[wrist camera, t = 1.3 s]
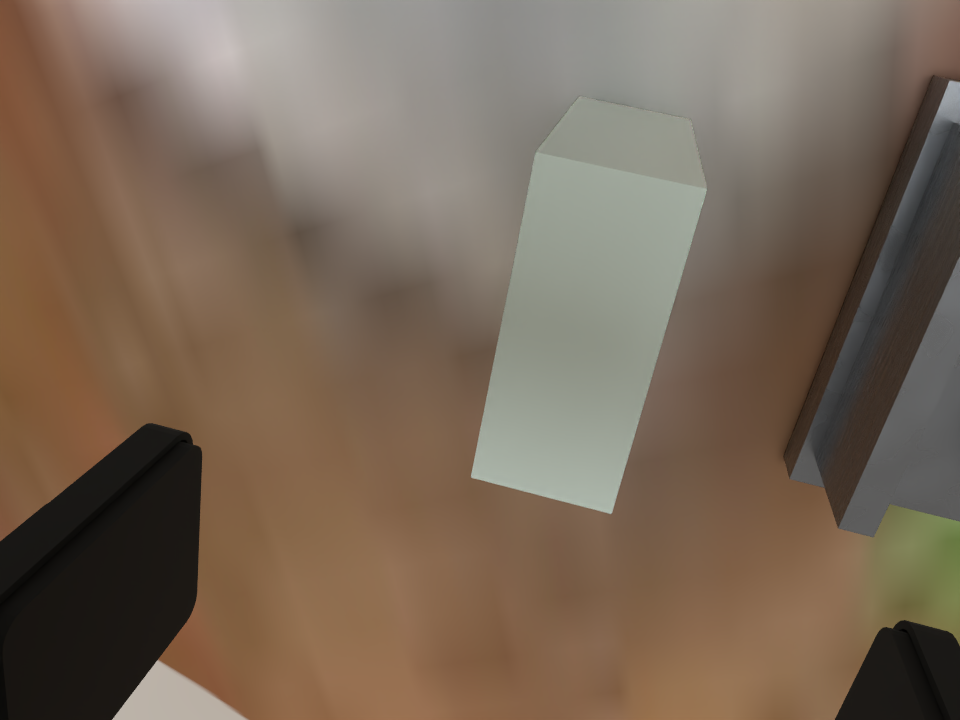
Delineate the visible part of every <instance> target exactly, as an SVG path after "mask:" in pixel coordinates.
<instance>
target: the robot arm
mask: <svg viewBox="0 0 960 720" xmlns="http://www.w3.org/2000/svg"><path fill="white" fill-rule="evenodd" d="M201 473H202V451H201V448H200V447H199V446H196V445H193V441H192V438H191V435H190V434H189V433H187V432H183V431H180V430H176V429H172V428H168V427H164V426H161V425H157V424H153V423H148V424H146V425H144V426H142V427H141V428H140V429H139V430H137V431H136V432H135V433H134V434H133V435H131V436H130V437H129V438H128V439H126V440H125V441H124V442H123V443H122V444H120V445H119V446H118V447H117V448H115V449H114V450H113V451H112V452H111V453H109V454H108V455H107V456H106V457H104V458H103V459H102V460H101V461H100V462H98V463H97V464H96V465H95V466H93V467H92V468H91V469H90V470H88V471H87V472H86V473H85V474H84V475H82V476H81V477H80V478H79V479H77V480H76V481H75V482H74V483H73V484H71V485H70V486H69V487H68V488H66V489H65V490H64V491H63V492H62V493H60V494H59V495H58V496H57V497H55V498H54V499H53V500H52V501H51V502H49V503H48V504H46V505H44V506H43V507H42V508H41V509H40V510H38V511H37V512H36V513H35V514H33V515H32V516H31V517H30V518H29V519H27V520H26V521H25V522H24V523H22V524H21V525H20V526H19V527H17V528H16V529H15V530H14V531H13V532H11V533H10V534H9V535H8V536H6V537H5V538H4V539H3V540H2V541H0V720H112V719H113V718H114V716H115V715H116V714H117V712H118V711H119V710H120V708H121V707H122V706H123V704H124V703H125V702H126V700H127V699H128V698H129V697H130V695H131V694H132V692H133V691H134V690H135V689H136V687H137V686H138V685H139V683H140V682H141V681H142V680H143V678H144V677H145V676H146V674H147V673H148V671H149V670H150V669H151V668H152V666H153V665H154V664H155V662H156V661H157V660H158V659H159V657H160V656H161V655H162V653H163V652H164V651H165V649H166V648H167V647H168V645H169V644H170V643H171V641H172V640H173V639H174V638H175V636H176V635H177V634H178V632H179V631H180V630H181V628H182V627H183V626H184V624H185V623H186V622H187V620H188V619H189V617H190V615H191V613H192V611H193V608H194V605H195V602H196V597H197V580H198V553H199V526H200V500H201ZM835 720H960V646H959V644H958V642H957V640H956V638H955V637H954V636H953V634H951V633H949V632H948V631H944V630H940V629H936V628H932V627H929V626H925V625H921V624H917V623H913V622H909V621H906V620H904V621H900V622H898V623H897V624H896V625H895V626H894V628H893V629H891V628H887V627H885V628H882V629H881V630H880V631H879V632H878V634H877V635H876V637H875V639H874V642H873V644H872V646H871V648H870V650H869V652H868V654H867V656H866V658H865V660H864V662H863V664H862V666H861V668H860V670H859V672H858V674H857V676H856V678H855V680H854V682H853V684H852V686H851V688H850V690H849V692H848V694H847V696H846V698H845V700H844V702H843V704H842V706H841V708H840V710H839V712H838V714H837V716H836V718H835Z"/></svg>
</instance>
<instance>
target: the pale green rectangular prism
mask: <svg viewBox="0 0 960 720" xmlns="http://www.w3.org/2000/svg"><path fill="white" fill-rule="evenodd" d="M706 192H707V185H706V181H705V177H704V173H703V168H702V164H701V160H700V156H699V151H698V147H697V143H696V139H695V135H694V130H693V126H692V122H691V119H688V118H683V117H678V116H673V115H668V114H663V113H659V112H654V111H649V110H644V109H639V108H634V107H629V106H625V105H620V104H615V103H610V102H605V101H600V100H595V99H591V98H586V97H581V96H579V97H578V98H577V99H576V101H575V102H574V103H573V105H572V106H571V107H570V108H569V110H568V111H567V112H566V114H565V115H564V116H563V117H562V119H561V120H560V121H559V123H558V124H557V125H556V126H555V128H554V129H553V130H552V131H551V133H550V134H549V135H548V137H547V138H546V139H545V140H544V142H543V143H542V144H541V146H540V147H539V148H538V149H537V151H536V152H535V157H534V162H533V167H532V172H531V177H530V182H529V187H528V192H527V197H526V202H525V207H524V212H523V217H522V222H521V227H520V232H519V237H518V242H517V247H516V252H515V257H514V262H513V267H512V273H511V278H510V283H509V288H508V293H507V298H506V303H505V308H504V313H503V318H502V323H501V328H500V333H499V338H498V343H497V348H496V353H495V358H494V363H493V368H492V373H491V378H490V383H489V388H488V393H487V398H486V404H485V409H484V414H483V419H482V424H481V429H480V434H479V439H478V444H477V449H476V454H475V459H474V464H473V469H472V474H471V478H475V479H479V480H482V481H486V482H490V483H494V484H498V485H502V486H506V487H509V488H513V489H517V490H521V491H525V492H529V493H532V494H536V495H540V496H544V497H548V498H552V499H556V500H559V501H563V502H567V503H571V504H575V505H579V506H582V507H586V508H590V509H594V510H598V511H602V512H606V513H609V514H612V511H613V507H614V504H615V500H616V497H617V494H618V490H619V487H620V483H621V480H622V477H623V473H624V470H625V466H626V463H627V460H628V456H629V453H630V450H631V446H632V443H633V439H634V436H635V433H636V429H637V426H638V422H639V419H640V416H641V412H642V409H643V405H644V402H645V399H646V395H647V392H648V389H649V385H650V382H651V378H652V375H653V372H654V368H655V365H656V361H657V358H658V355H659V351H660V348H661V344H662V341H663V338H664V334H665V331H666V328H667V324H668V321H669V317H670V314H671V311H672V307H673V304H674V300H675V297H676V294H677V290H678V287H679V283H680V280H681V277H682V273H683V270H684V267H685V263H686V260H687V256H688V253H689V250H690V246H691V243H692V239H693V236H694V233H695V229H696V226H697V222H698V219H699V216H700V212H701V209H702V206H703V202H704V199H705V195H706Z"/></svg>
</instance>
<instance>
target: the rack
mask: <svg viewBox="0 0 960 720" xmlns="http://www.w3.org/2000/svg"><path fill="white" fill-rule="evenodd" d="M784 460H785V463H786V467H787V471H788V475H789V478H790V479H792V480H796V481H800V482H804V483H808V484H812V485H816V486H820V487H824V488H825V490H826V493H827V496H828V499H829V502H830V505H831V508H832V511H833V514H834V517H835V520H836V523H837V526H838V528H839V529H843V530H847V531H851V532H854V533H858V534H862V535H866V536H870V537H874V535H875V533H876V531H877V529H878V527H879V525H880V523H881V520H882V518H883V516H884V514H885V512H886V510H887V508H888V506H889V504H892V505H896V506H900V507H904V508H908V509H912V510H916V511H920V512H924V513H928V514H932V515H936V516H940V517H944V518H948V519H952V520H956V521H960V81H959V80H954V79H949V78H944V77H939V76H934V75H933V77H932V80H931V83H930V85H929V88H928V90H927V93H926V95H925V98H924V100H923V103H922V106H921V108H920V111H919V113H918V116H917V118H916V121H915V123H914V126H913V128H912V131H911V134H910V136H909V139H908V141H907V144H906V146H905V149H904V151H903V154H902V156H901V159H900V162H899V164H898V167H897V169H896V172H895V174H894V177H893V179H892V182H891V184H890V187H889V190H888V192H887V195H886V197H885V200H884V202H883V205H882V207H881V210H880V212H879V215H878V218H877V220H876V223H875V225H874V228H873V230H872V233H871V235H870V238H869V240H868V243H867V246H866V248H865V251H864V253H863V256H862V258H861V261H860V263H859V266H858V269H857V271H856V274H855V276H854V279H853V281H852V284H851V286H850V289H849V291H848V294H847V297H846V299H845V302H844V304H843V307H842V309H841V312H840V314H839V317H838V319H837V322H836V325H835V327H834V330H833V332H832V335H831V337H830V340H829V342H828V345H827V347H826V350H825V353H824V355H823V358H822V360H821V363H820V365H819V368H818V370H817V373H816V375H815V378H814V381H813V383H812V386H811V388H810V391H809V393H808V396H807V398H806V401H805V403H804V406H803V409H802V411H801V414H800V416H799V419H798V421H797V424H796V426H795V429H794V432H793V434H792V437H791V439H790V442H789V444H788V447H787V449H786V452H785V454H784Z"/></svg>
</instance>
